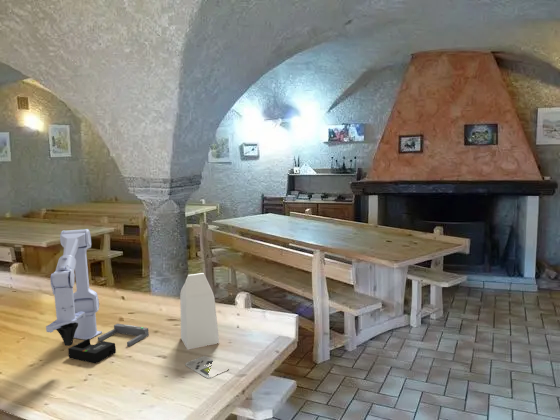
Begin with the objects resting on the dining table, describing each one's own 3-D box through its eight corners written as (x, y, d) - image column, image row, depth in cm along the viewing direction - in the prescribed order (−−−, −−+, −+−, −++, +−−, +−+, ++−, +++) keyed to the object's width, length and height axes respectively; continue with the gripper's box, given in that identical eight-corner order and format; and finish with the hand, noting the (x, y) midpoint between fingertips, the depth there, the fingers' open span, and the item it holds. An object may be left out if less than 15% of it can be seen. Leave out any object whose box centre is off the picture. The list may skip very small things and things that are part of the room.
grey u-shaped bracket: (97, 341, 180) (97, 332, 179) (117, 330, 190) (117, 322, 190) (129, 346, 174) (129, 337, 174) (148, 335, 184) (148, 327, 184)
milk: (187, 349, 170) (183, 280, 166) (180, 338, 180) (176, 272, 177) (219, 343, 174) (215, 275, 171) (211, 332, 185) (207, 268, 182)
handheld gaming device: (204, 354, 164) (230, 368, 153) (205, 356, 164) (230, 370, 153) (183, 363, 158) (208, 378, 147) (183, 365, 158) (208, 380, 147)
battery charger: (116, 353, 169) (115, 343, 169) (96, 364, 160) (95, 353, 160) (89, 348, 174) (88, 338, 174) (68, 359, 166) (67, 348, 165)
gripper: (56, 314, 147) (59, 355, 149) (90, 300, 161) (93, 338, 162) (39, 312, 150) (43, 352, 152) (75, 298, 163) (78, 335, 165)
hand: (68, 345), depth 157 cm, fingers closed
